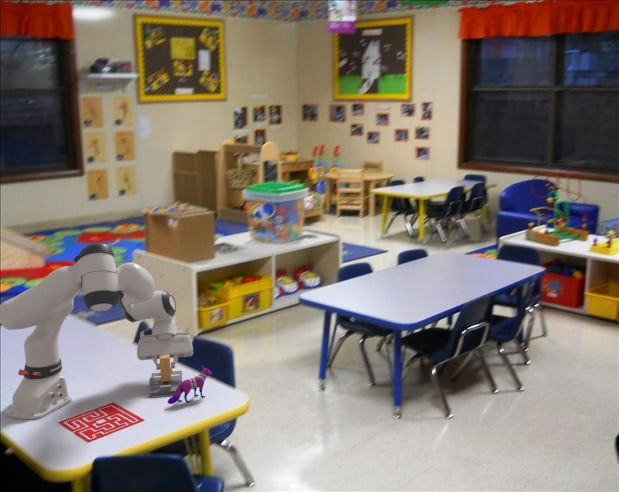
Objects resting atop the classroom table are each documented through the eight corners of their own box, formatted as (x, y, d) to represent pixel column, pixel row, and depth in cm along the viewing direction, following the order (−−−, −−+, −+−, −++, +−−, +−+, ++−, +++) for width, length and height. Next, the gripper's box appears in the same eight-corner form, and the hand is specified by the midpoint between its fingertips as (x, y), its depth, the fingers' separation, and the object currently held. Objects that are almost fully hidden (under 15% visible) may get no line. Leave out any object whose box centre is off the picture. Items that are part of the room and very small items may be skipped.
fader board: (181, 393, 256) (181, 386, 256) (150, 397, 255) (149, 389, 254) (182, 374, 274) (181, 366, 273) (152, 377, 272) (151, 369, 271)
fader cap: (171, 381, 263) (169, 357, 261) (161, 381, 263) (159, 358, 261) (171, 377, 267) (169, 353, 264) (161, 378, 266) (159, 354, 264)
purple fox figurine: (216, 393, 256) (214, 366, 253) (170, 409, 244) (168, 380, 242) (210, 390, 258) (208, 363, 256) (165, 405, 247) (163, 377, 245)
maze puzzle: (58, 423, 237) (58, 421, 237) (113, 403, 251) (113, 402, 251) (88, 443, 223) (88, 441, 223) (144, 421, 237) (144, 419, 237)
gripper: (193, 335, 274) (195, 369, 267) (138, 339, 271) (138, 374, 264) (192, 328, 269) (194, 362, 262) (136, 332, 266) (136, 367, 259)
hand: (165, 368), depth 263 cm, fingers open, 4 cm apart
